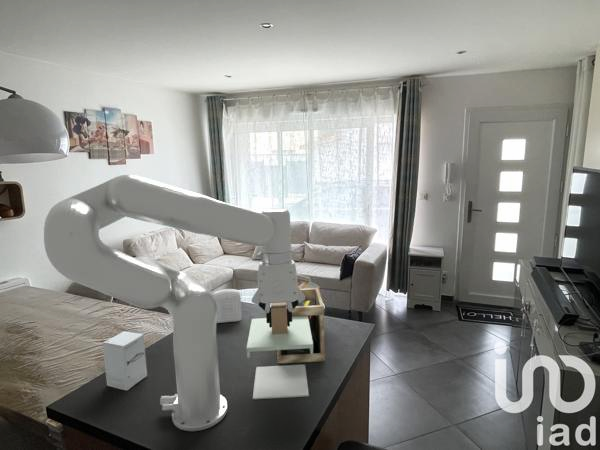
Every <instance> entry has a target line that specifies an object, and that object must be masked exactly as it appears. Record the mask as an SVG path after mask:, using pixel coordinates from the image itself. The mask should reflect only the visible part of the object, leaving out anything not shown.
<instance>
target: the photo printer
mask: <svg viewBox="0 0 600 450" xmlns="http://www.w3.org/2000/svg"><path fill="white" fill-rule="evenodd" d="M213 295H214V297H215V300H216V303H217V323H216V324H220V323H221V324H222V323H231V322H232V323H233V322H240V321H241V320H242V301H241V300H242V299H241V293H240V290H239V289H236V288H224V289H220V290H217V291H214V292H213Z"/></svg>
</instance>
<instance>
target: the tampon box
mask: <svg viewBox="0 0 600 450" xmlns="http://www.w3.org/2000/svg"><path fill="white" fill-rule="evenodd" d="M286 304H287V302H286ZM297 306H315V300H303V301H302V302H301V303H299V304H298V305H297ZM306 316H308V319H309V325H310V330H311V336H312V341H313V352H314V351H315V348H316V344H317V338H316V315H306ZM292 317H295V316H292ZM295 354H311V353H310V348H305V349H287V350H281V355H295Z"/></svg>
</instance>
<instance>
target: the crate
mask: <svg viewBox="0 0 600 450" xmlns="http://www.w3.org/2000/svg"><path fill="white" fill-rule="evenodd" d="M300 290H301V291H302V293H303V294H304V295H305V300H315V306H296V307H295V308H294V309H293V311H292V316H306V315H316V344H317V345H318V353H315V352H314V353H313V354H295V355H282V350H276V355H277V356H276V358H277V361H276V363H277V364H293V363H294V364H296V363H312V362H325V359H326V358H325V356H326V354H325V305H324V302H323V298H322V295H321V291H320V292H319V289H318V288H308V289H300Z"/></svg>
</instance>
